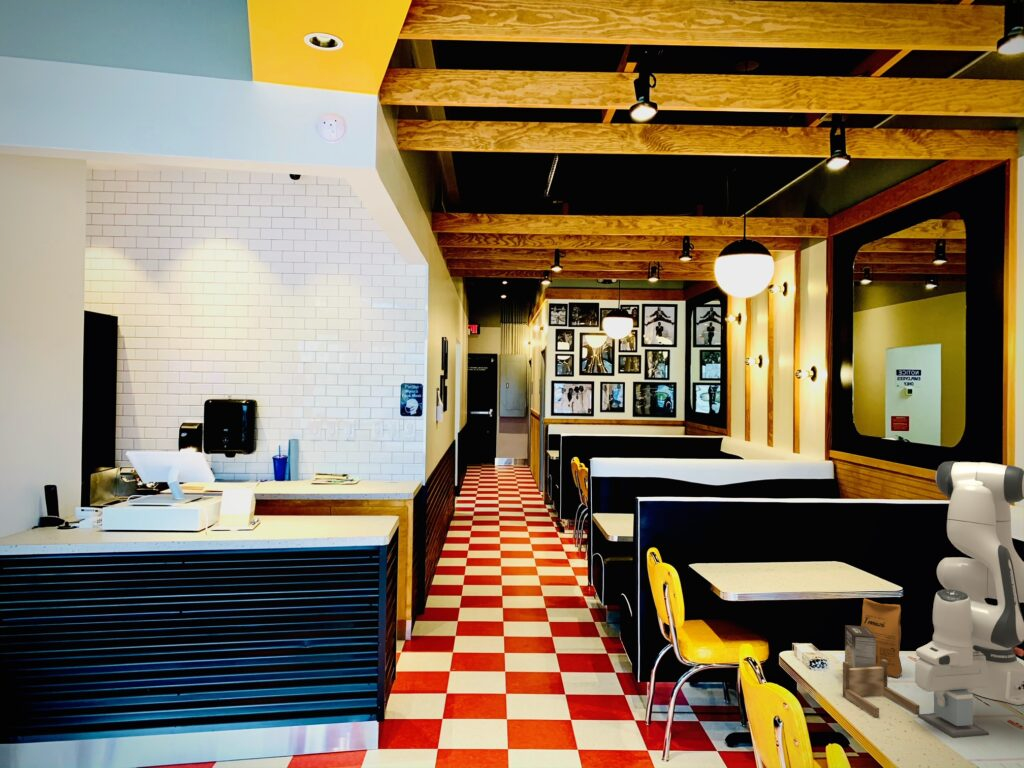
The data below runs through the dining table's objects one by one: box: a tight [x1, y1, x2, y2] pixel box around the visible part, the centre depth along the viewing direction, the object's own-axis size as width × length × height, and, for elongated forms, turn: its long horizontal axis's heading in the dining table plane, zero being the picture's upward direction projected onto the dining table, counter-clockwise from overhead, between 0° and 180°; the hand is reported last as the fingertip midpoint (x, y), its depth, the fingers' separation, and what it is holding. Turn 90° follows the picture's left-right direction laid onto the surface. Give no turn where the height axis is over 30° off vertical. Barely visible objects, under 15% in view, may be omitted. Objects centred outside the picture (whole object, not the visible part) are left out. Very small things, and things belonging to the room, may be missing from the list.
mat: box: [917, 712, 990, 739], centre depth 165 cm, size 11×11×1 cm
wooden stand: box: [842, 659, 920, 719], centre depth 176 cm, size 14×13×10 cm
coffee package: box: [860, 598, 903, 678], centre depth 201 cm, size 10×12×22 cm
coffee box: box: [844, 624, 876, 668], centre depth 191 cm, size 9×6×16 cm
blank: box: [933, 689, 974, 726], centre depth 165 cm, size 5×7×8 cm
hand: (952, 704), depth 166 cm, fingers closed on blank, 5 cm apart
